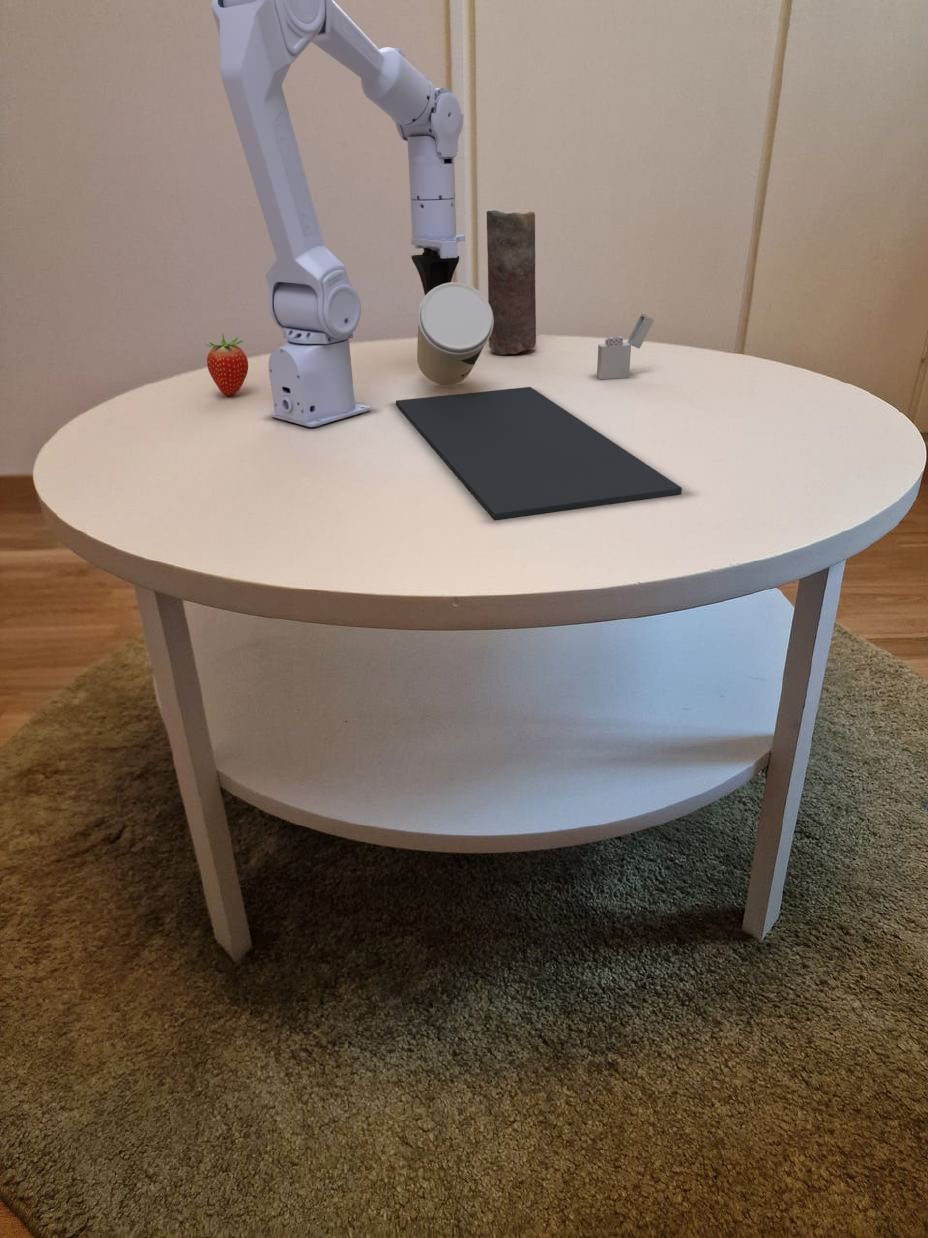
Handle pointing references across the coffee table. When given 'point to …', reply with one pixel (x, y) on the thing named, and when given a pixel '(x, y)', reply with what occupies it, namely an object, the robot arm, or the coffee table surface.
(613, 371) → the lighter
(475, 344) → the coffee cup
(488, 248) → the brown stone cylinder
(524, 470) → the mat
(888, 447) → the coffee table surface
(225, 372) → the fruit
